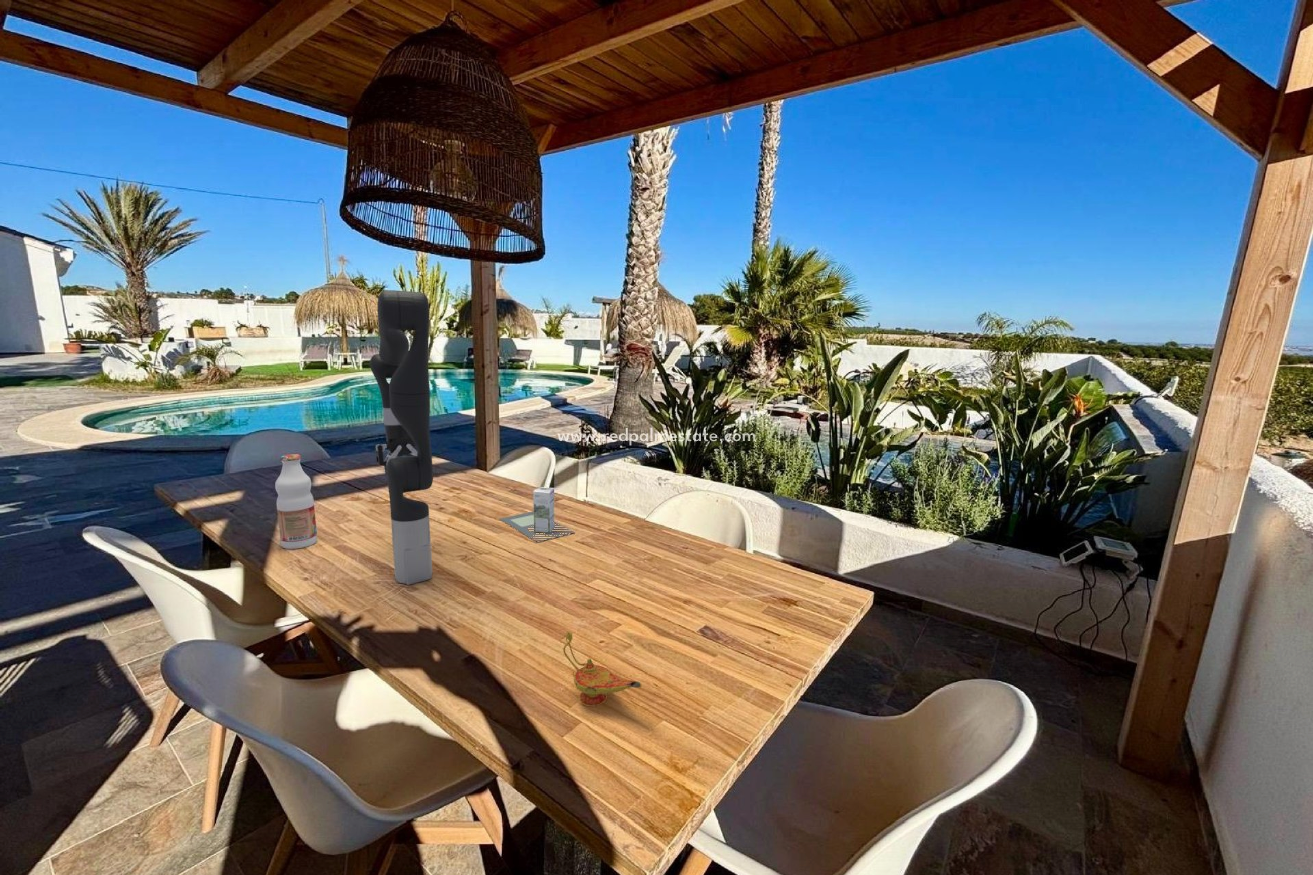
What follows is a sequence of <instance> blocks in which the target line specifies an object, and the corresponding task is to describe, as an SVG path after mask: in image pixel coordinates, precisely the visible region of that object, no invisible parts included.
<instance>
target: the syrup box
mask: <svg viewBox="0 0 1313 875" xmlns="http://www.w3.org/2000/svg"><path fill="white" fill-rule="evenodd" d="M532 494H533V496H532V497H533V498H532V500H533V504H532V505H533V511H534V532H540V533H550V532H551V531H552V530H553V529H554V527H555V523H554V522H555V488H554V487H543V486H541V487H540V486H539V487H536V488H535V489H534V490H533V493H532Z"/></svg>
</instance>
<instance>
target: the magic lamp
mask: <svg viewBox="0 0 1313 875" xmlns="http://www.w3.org/2000/svg"><path fill="white" fill-rule="evenodd" d="M572 640H573V634H572V633H571V632H570V631H566V634H565V642H566V644H565V645H564V646H563V649H562V650H563V651H562V652H563V655H564V657H565V658H566V660H568V661H569V662H570V664H571V665H572V666H573V667H574V669H575V670H576V671H573V672H572V675H573V682H574V683H573V684H574V685H575V687H576V688H577V690H578V691H580V692H581V693H580V694H579V697H578V698H579V699H578V701H579V702H580V703H581V704H582V705H584V706H586V707H598V706H601V705H602V704H603V703H605V702H606V701H607V697H608V694H615V693H619V692H621V691H625V690H627V689H630V688H637V689H639V688H641V687H642V683H641V682H639V681H636V680H627V679H624V680H623V679H620V678H618V677H616V676H615V675H614V674H613V673H612V672H611V671H610V670H609V669H608V668H606V667H604V666H602V665H599V664H598V665H597V664H594V663H593V661H592V659H591V658H587V660H586V662H584V663H580V662H579V661H578V660H577V658H576V656H575V655H574V653H573V649H572V646H571V643H572ZM567 646H569V649H570V652H571V656H572V658H573V660H574V662H575V663H576V664H577V665H578V666H581V668H579V667H578V666H577V665H576V664H575V663H574V662H573V661H572V660H571V658H570V657H569V655H568V654H567V652H566V647H567ZM574 672H575V674H574Z"/></svg>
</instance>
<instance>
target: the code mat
mask: <svg viewBox="0 0 1313 875" xmlns="http://www.w3.org/2000/svg"><path fill="white" fill-rule="evenodd" d="M533 517H534V510H533V511H529V512H524V513H518V514H516V515H509V516H505V517H500V518H499V519H498V520H499V521H501V520H502V521H503V523H504V522H505V523H504V524H506V525H507V524H508V525H507V526H509V525H510V526H509V527H511V526H512V527H513V528H512V527H511V528H512V529H514V528H515V529H516V531H517V530H518V531H517V532H519V533H520V532H521V533H520V534H522V533H523V534H522V535H524V536H525V535H526V536H525V537H527V536H528V537H527V538H529V537H530V538H531V537H532V538H531V540H532V539H551V540H553V539H552V538H533V537H559V538H561V537H560V536H559V535H566V536H569V535H568V534H569V533H570V535H572V534H571V533H574V534H576V532H575V531H573V530H571V531H551V532H550V533H545V534H544V533H543V534H540V532H534V531H529V530H534V529H528V528H534V527H533V526H534V525H533V524H534V518H533ZM502 521H501V522H502ZM554 523H555V524H556V525H555V526H562V525H561V524H560V523H557V522H556V521H554ZM558 524H559V525H558ZM531 526H532V527H531ZM554 528H566V527H565V526H563V527H554ZM515 529H514V530H515ZM553 530H570V529H569V528H567V529H553ZM536 533H539V534H536ZM552 533H553V534H552ZM560 533H561V534H560ZM562 533H564V534H562ZM565 533H567V534H565ZM533 535H534V536H533ZM535 535H545V536H535ZM546 535H548V536H546ZM549 535H552V536H549ZM554 535H555V536H554ZM556 535H557V536H556ZM530 538H529V539H530ZM533 541H534V542H535V541H543V542H545V541H544V540H533Z"/></svg>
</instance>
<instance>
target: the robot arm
mask: <svg viewBox="0 0 1313 875" xmlns="http://www.w3.org/2000/svg"><path fill="white" fill-rule="evenodd" d="M377 298H378V299H377V309H376V310H377V322H378V332H379V337H380V342H379V350H378V353H375V354H373V355H372V356H371V358H369V368H370V370H371V373H372V374H373V376H374V379H375V380H376V382H377V385H378V388H379V392H380V397H381V401H382V402H381V403H382V416H383V417H382V418H383V420H382V421H383V424H384V432H385V439H386V443H383V444H380V443H377V444H375V447H374V449H375V461H376V462H375V463H376V464H377V465H379V466H383V467H384V474H385V477H386V481H387V486H388V487H387V488H388V494H389V506H390V507H389V508H390V521H391V524H390V525H391V535H392V539H391V540H392V551H393V565H394V578H395V581H396V582H397V583H399V584H406V586H410V585H413V584H417V583H420V582H425V581H428V580H431V579H432V575H433V560H432V545H431V544H432V543H431V542H432V541H431V527H430V526H431V524H430V509H429V505H428V503H426V502H425V501H422V500H417V499H411V498H408V497H406V496H405V495H404V493H411V492H412V493H413V492H417V491H419V492H420V491H424V490H425V491H426V490H428V489H431V487H432V486H433V481H434V468H433V465H434V464H433V456H432V446H431V435H430V434H431V429H430V426H431V425H430V424H431V423H430V421H431V420H430V419H431V418H430V417H431V416H430V415H431V414H430V413H431V409H430V408H431V396H430V395H431V391H430V375H429V374H430V373H429V372H430V371H429V338H430V337H429V336H430V316H431V315H430V314H431V313H430V302H429V298H428V296H427V295H426V294H425V293H424V292H421V291H412V290H411V291H410V290H396V289H390V290H388V289H387V290H383V291H381V292H380V293H379V295H378V297H377ZM403 331H414V332H413V338H412V342H411V345H410V341H409V339H408V337H407V335H406V334H405V333H404V332H403ZM387 379H390V380H389V382H388V380H387ZM386 449H387V450H388V453H387V455H386V457H385V459H384V452H385V450H386ZM408 455H409V456H408ZM410 455H412V456H410Z"/></svg>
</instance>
